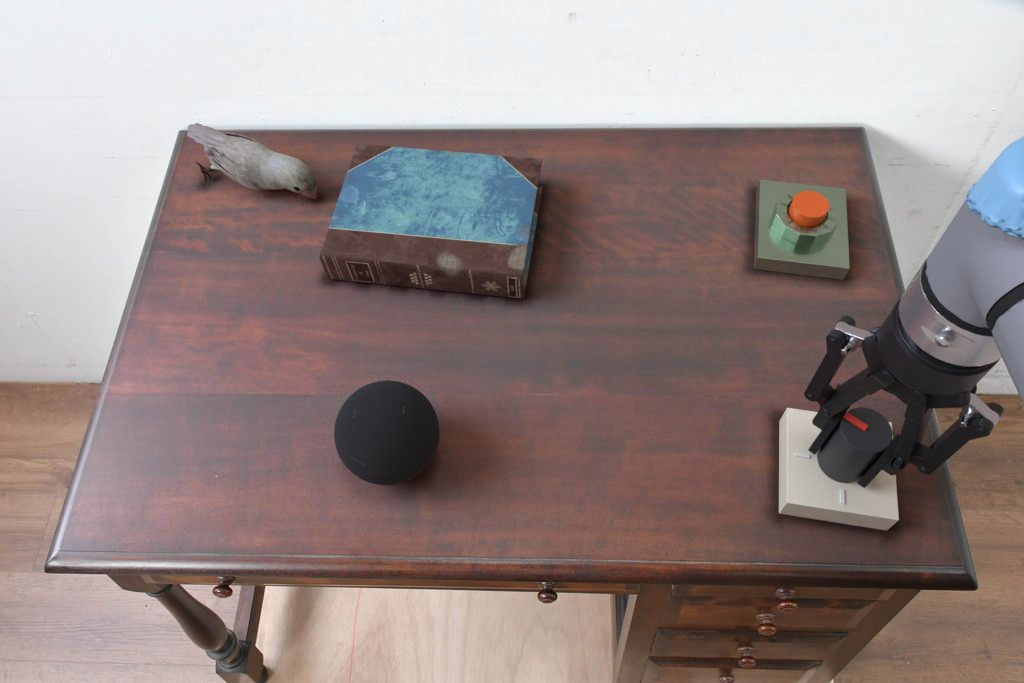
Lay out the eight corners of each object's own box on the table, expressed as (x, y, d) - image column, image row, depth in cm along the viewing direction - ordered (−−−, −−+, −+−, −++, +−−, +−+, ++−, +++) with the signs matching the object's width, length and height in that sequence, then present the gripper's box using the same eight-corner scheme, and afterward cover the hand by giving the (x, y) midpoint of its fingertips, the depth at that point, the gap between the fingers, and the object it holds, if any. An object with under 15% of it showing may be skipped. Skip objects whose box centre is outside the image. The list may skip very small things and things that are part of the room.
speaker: (438, 402, 84) (427, 353, 75) (450, 491, 78) (438, 450, 70) (344, 417, 83) (321, 370, 75) (348, 508, 78) (325, 468, 69)
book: (328, 282, 92) (318, 255, 88) (365, 170, 101) (357, 141, 97) (523, 302, 90) (522, 276, 86) (542, 186, 99) (542, 157, 95)
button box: (843, 280, 90) (855, 258, 87) (753, 269, 91) (761, 247, 88) (840, 200, 96) (850, 177, 93) (755, 191, 97) (763, 168, 94)
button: (825, 229, 89) (829, 219, 88) (788, 225, 90) (792, 215, 88) (824, 202, 92) (828, 192, 90) (788, 198, 92) (792, 188, 91)
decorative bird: (309, 215, 98) (292, 172, 91) (197, 184, 101) (174, 140, 95) (329, 184, 100) (314, 140, 94) (219, 155, 104) (198, 110, 97)
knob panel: (887, 530, 75) (900, 519, 72) (778, 513, 76) (787, 502, 73) (880, 435, 80) (892, 421, 77) (779, 420, 81) (787, 406, 79)
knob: (873, 459, 76) (903, 425, 69) (850, 492, 74) (878, 461, 68) (832, 431, 77) (857, 396, 71) (808, 463, 76) (832, 430, 69)
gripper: (811, 292, 57) (741, 431, 77) (1055, 437, 51) (910, 548, 70) (863, 229, 60) (782, 379, 80) (1100, 359, 53) (949, 487, 73)
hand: (843, 458), depth 75 cm, fingers closed on knob, 4 cm apart
